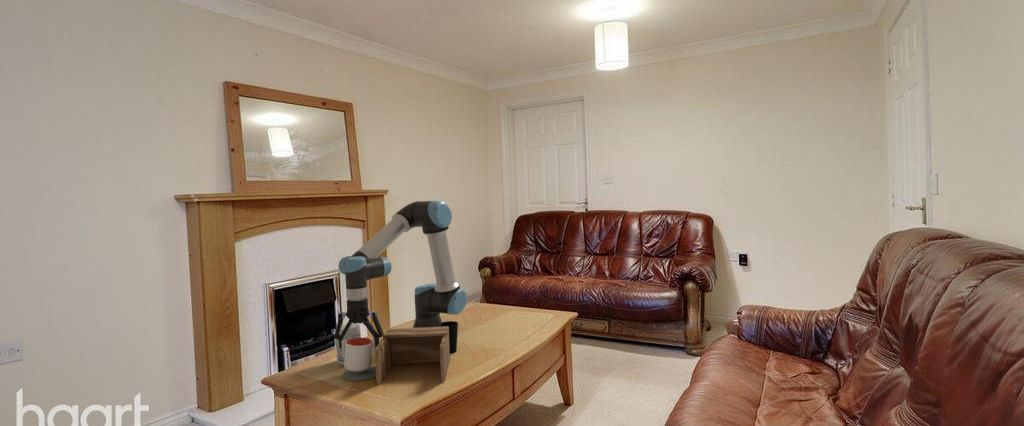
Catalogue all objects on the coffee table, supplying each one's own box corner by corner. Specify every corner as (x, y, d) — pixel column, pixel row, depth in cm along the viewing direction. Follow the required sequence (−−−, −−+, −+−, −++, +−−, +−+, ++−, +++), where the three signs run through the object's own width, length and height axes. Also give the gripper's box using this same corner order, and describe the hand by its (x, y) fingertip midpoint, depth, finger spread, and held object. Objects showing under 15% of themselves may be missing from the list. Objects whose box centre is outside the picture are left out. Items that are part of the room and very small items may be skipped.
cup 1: (347, 362, 188) (349, 336, 188) (374, 363, 189) (375, 338, 189) (340, 372, 178) (341, 345, 178) (368, 373, 179) (369, 346, 179)
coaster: (348, 368, 191) (348, 366, 191) (385, 366, 191) (384, 365, 191) (337, 382, 177) (337, 380, 177) (376, 380, 177) (376, 379, 177)
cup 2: (455, 354, 203) (454, 326, 202) (438, 354, 204) (437, 325, 203) (461, 348, 210) (460, 321, 209) (444, 348, 212) (443, 320, 211)
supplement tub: (360, 356, 205) (358, 321, 204) (363, 362, 196) (362, 326, 196) (335, 360, 201) (334, 324, 200) (338, 367, 192) (336, 330, 191)
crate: (389, 363, 195) (388, 328, 195) (450, 360, 196) (448, 325, 195) (376, 384, 173) (374, 345, 173) (444, 381, 174) (443, 343, 173)
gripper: (322, 301, 179) (325, 360, 180) (386, 299, 179) (388, 358, 181) (329, 296, 186) (332, 353, 188) (390, 295, 187) (392, 351, 188)
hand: (359, 355), depth 184 cm, fingers open, 11 cm apart
